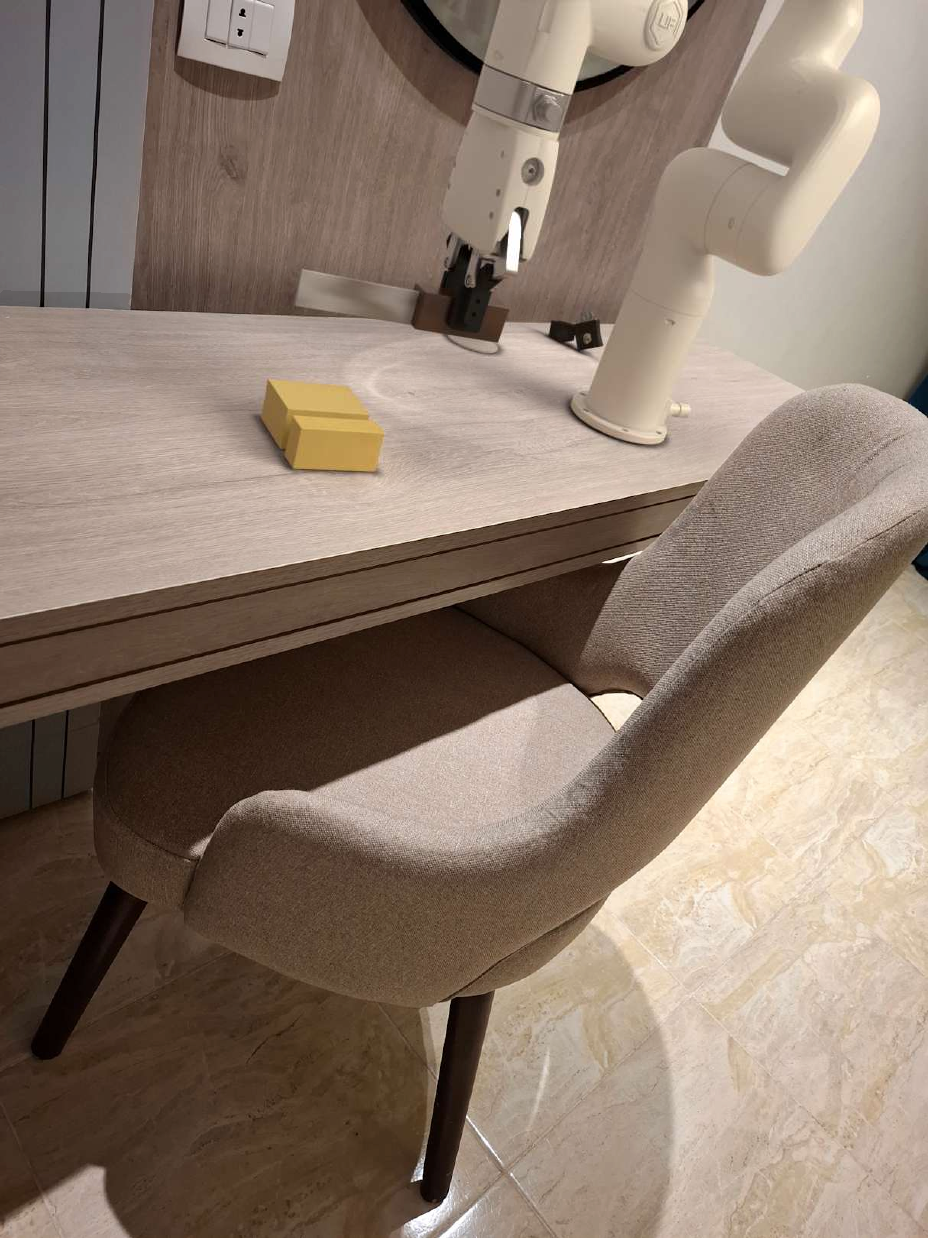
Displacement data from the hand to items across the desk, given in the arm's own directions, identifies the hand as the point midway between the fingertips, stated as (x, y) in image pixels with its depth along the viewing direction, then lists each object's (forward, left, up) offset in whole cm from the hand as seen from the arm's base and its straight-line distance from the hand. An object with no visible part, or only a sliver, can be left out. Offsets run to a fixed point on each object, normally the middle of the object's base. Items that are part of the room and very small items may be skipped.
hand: (456, 321), depth 84 cm
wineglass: (-23, -32, -13) cm, 41 cm away
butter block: (+11, -1, -13) cm, 17 cm away
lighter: (-42, -35, -13) cm, 56 cm away
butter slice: (+11, +4, -13) cm, 18 cm away
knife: (+6, 0, -1) cm, 6 cm away
